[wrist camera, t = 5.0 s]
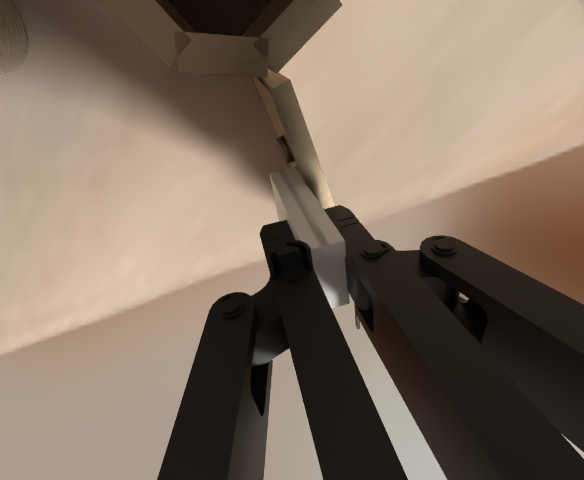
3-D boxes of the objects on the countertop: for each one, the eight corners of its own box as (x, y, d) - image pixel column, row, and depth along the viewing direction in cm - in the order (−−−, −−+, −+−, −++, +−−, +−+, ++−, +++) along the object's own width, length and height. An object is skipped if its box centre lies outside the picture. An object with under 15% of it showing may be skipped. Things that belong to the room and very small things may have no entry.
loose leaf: (244, 73, 16) (260, 94, 11) (264, 64, 16) (290, 79, 10) (309, 225, 22) (341, 287, 16) (324, 218, 22) (360, 278, 16)
